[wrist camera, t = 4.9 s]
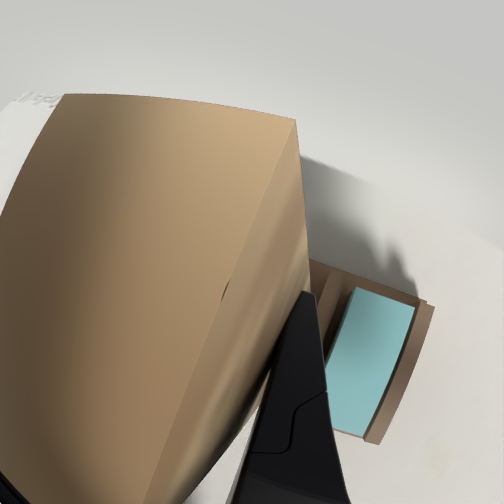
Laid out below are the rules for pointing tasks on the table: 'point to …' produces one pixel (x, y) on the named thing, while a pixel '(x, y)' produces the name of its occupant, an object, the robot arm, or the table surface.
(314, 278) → the rack
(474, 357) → the table surface
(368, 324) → the offcut upper
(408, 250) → the table surface
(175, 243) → the oak board
